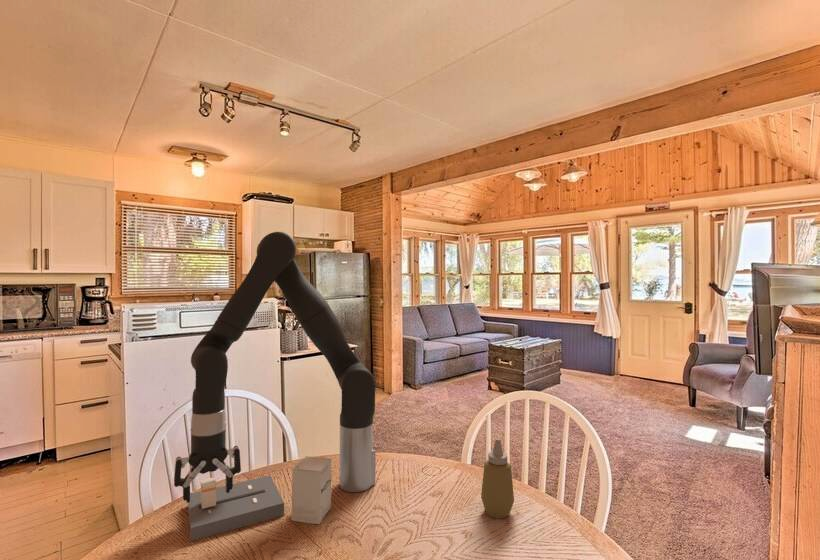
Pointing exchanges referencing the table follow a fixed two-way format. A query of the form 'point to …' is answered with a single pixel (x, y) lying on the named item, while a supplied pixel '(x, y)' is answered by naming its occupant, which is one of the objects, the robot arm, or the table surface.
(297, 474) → the supplement box
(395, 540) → the table surface
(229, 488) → the robot arm
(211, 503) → the fader
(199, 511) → the console
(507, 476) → the squeeze bottle
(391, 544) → the table surface
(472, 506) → the table surface
